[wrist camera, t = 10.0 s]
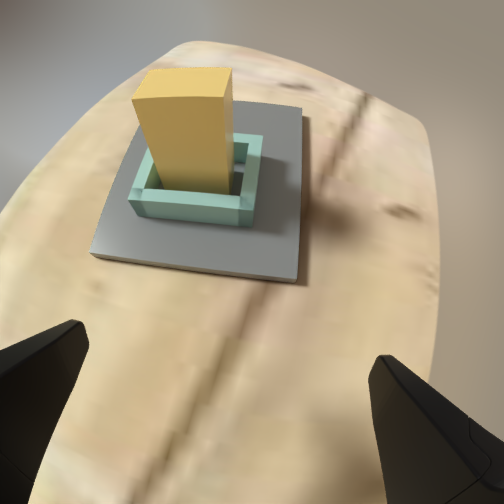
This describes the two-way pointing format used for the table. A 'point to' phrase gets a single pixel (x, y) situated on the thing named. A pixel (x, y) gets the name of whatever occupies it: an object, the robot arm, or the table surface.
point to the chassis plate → (214, 205)
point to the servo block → (189, 127)
